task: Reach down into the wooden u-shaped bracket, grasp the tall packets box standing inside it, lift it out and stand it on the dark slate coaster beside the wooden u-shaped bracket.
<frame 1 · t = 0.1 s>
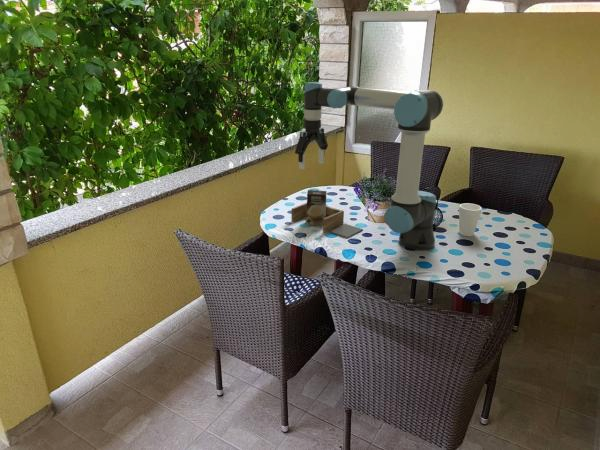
hand: (311, 166, 207), 28 cm above the table, fingers open, 13 cm apart
wooden u-shaped bracket: (317, 223, 217), on the table
coffee box: (315, 224, 217), on the table
coaster: (346, 231, 209), on the table
foam cup: (466, 233, 208), on the table
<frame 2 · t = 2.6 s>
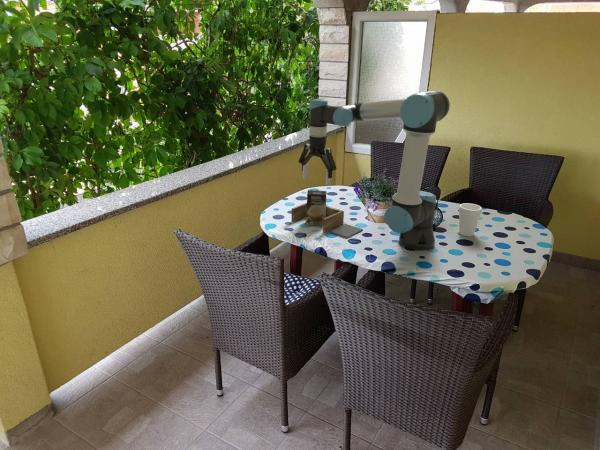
hand: (316, 181, 209), 21 cm above the table, fingers open, 13 cm apart
nothing on the table moved.
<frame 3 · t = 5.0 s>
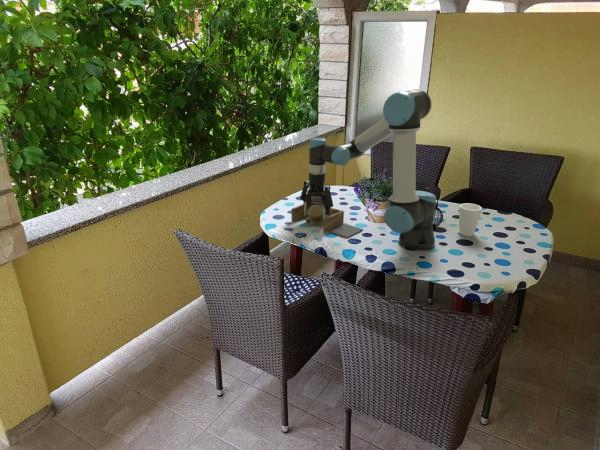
hand: (315, 217, 215), 3 cm above the table, fingers closed on coffee box, 11 cm apart
coffee box: (315, 224, 217), on the table, touching gripper
everything else where it was.
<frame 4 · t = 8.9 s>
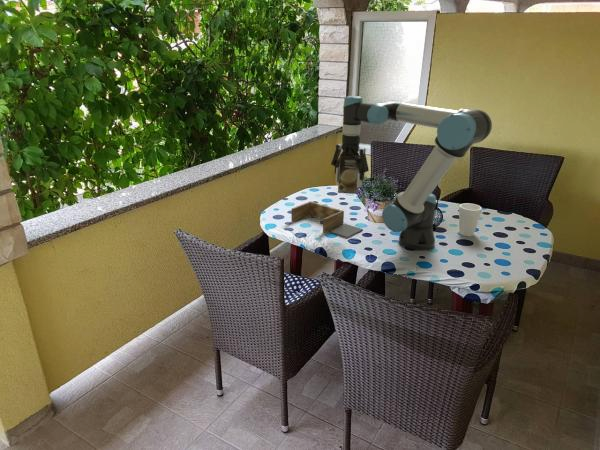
hand: (348, 184, 200), 23 cm above the table, fingers closed on coffee box, 11 cm apart
coffee box: (348, 192, 201), point 19 cm above the table, touching gripper
everything else where it was.
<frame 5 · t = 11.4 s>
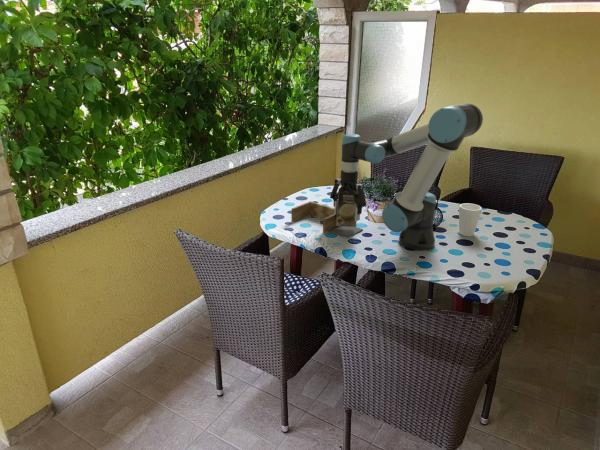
hand: (346, 217, 206), 7 cm above the table, fingers closed on coffee box, 11 cm apart
coffee box: (346, 224, 207), point 3 cm above the table, touching gripper
everything else where it was.
when the fingers open (7 cm above the table, at t = 12.9 s): coffee box drops 3 cm, resting on coaster.
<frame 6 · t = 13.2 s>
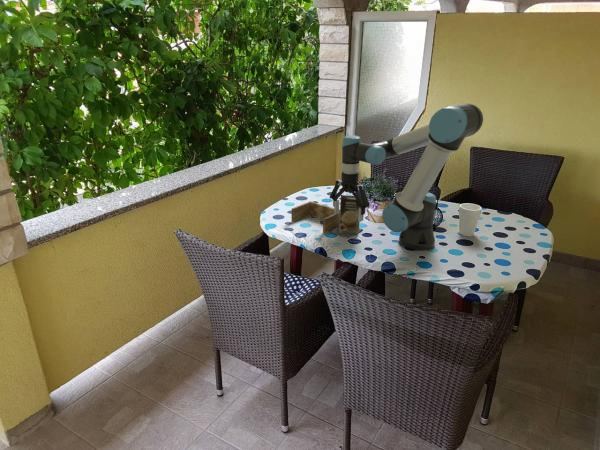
hand: (348, 217, 205), 7 cm above the table, fingers open, 13 cm apart
coffee box: (348, 231, 208), point 1 cm above the table, touching coaster
everything else where it was.
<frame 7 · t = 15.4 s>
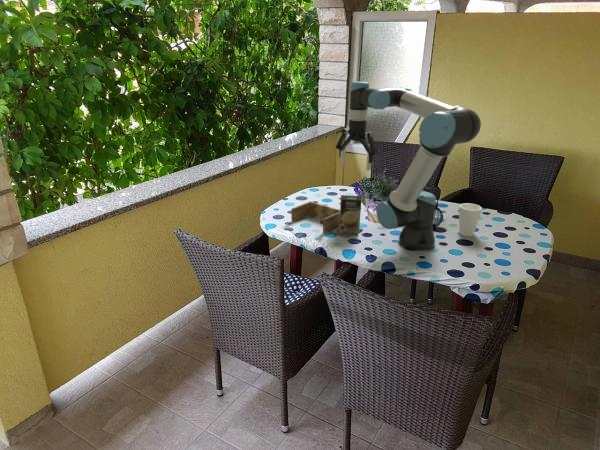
hand: (355, 167, 203), 29 cm above the table, fingers open, 13 cm apart
nothing on the table moved.
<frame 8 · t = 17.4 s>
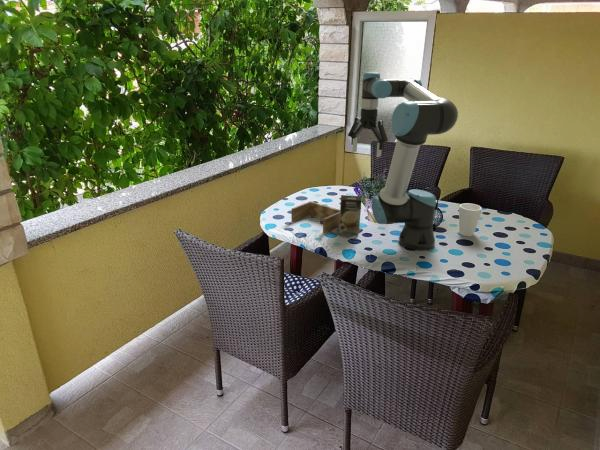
hand: (366, 154, 214), 32 cm above the table, fingers open, 13 cm apart
nothing on the table moved.
at the end: coffee box inside the target area on the coaster (1.4 cm from its centre), point 0.6 cm above the coaster's base; coffee box tilted 0°; the gripper is holding nothing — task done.
